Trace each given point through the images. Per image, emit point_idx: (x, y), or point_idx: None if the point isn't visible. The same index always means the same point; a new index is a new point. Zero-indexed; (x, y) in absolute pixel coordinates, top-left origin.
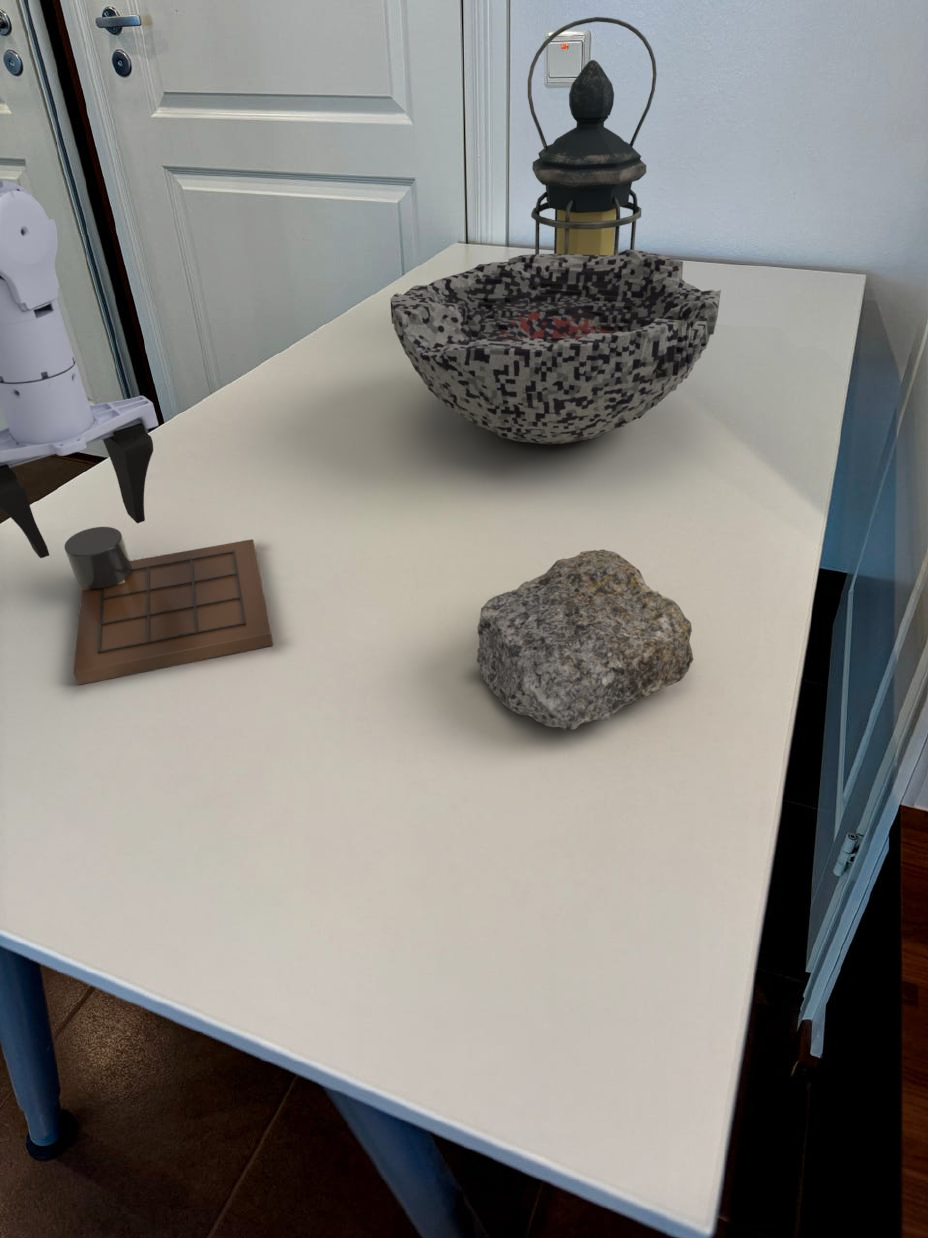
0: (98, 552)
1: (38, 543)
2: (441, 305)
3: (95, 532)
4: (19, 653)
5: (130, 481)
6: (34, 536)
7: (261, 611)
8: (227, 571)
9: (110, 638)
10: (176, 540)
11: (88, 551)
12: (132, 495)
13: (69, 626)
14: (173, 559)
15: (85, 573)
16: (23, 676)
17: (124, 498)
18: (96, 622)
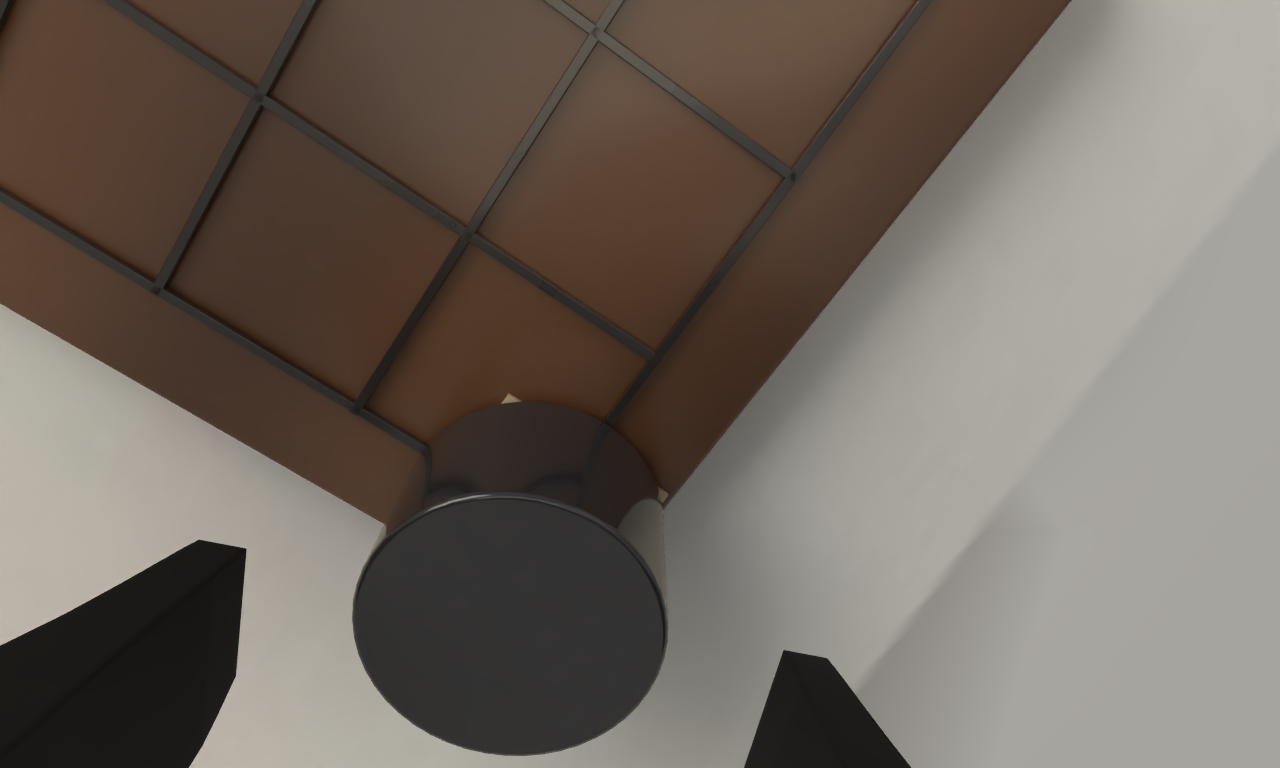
0: (559, 510)
1: (848, 710)
2: None
3: (454, 691)
4: (1054, 378)
5: (38, 720)
6: (876, 747)
7: None
8: (63, 24)
9: (836, 31)
10: (128, 555)
11: (589, 563)
12: (127, 649)
13: (818, 375)
14: (228, 370)
15: (646, 508)
16: (1155, 221)
17: (180, 744)
18: (789, 217)
